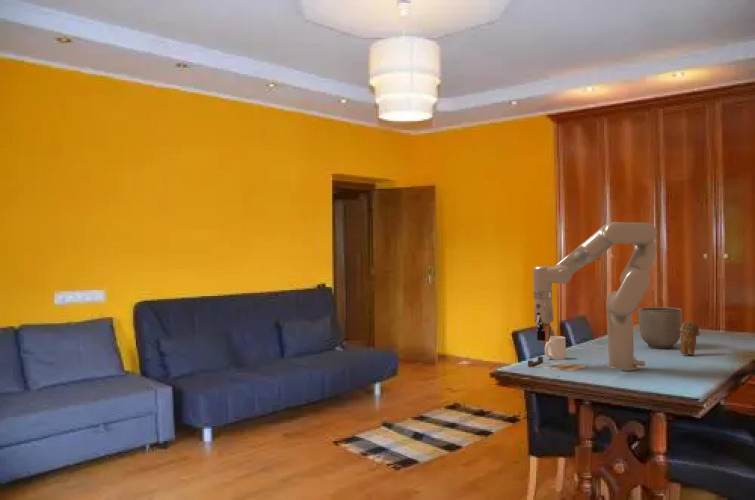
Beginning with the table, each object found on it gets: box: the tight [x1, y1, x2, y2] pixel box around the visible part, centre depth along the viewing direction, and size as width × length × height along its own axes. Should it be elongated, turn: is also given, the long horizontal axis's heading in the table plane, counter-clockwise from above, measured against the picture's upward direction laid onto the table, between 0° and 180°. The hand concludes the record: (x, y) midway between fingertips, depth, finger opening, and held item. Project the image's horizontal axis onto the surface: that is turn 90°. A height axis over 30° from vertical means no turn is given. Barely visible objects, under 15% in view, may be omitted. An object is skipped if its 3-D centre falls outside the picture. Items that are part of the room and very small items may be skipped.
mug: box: [544, 335, 567, 360], centre depth 272 cm, size 12×8×10 cm
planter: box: [637, 306, 683, 350], centre depth 302 cm, size 20×20×19 cm
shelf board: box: [527, 356, 586, 372], centre depth 252 cm, size 20×13×4 cm, turn 54°
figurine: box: [679, 320, 701, 356], centre depth 278 cm, size 8×8×15 cm
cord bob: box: [537, 324, 549, 343], centre depth 255 cm, size 4×4×7 cm
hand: (543, 339), depth 255 cm, fingers closed on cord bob, 4 cm apart
